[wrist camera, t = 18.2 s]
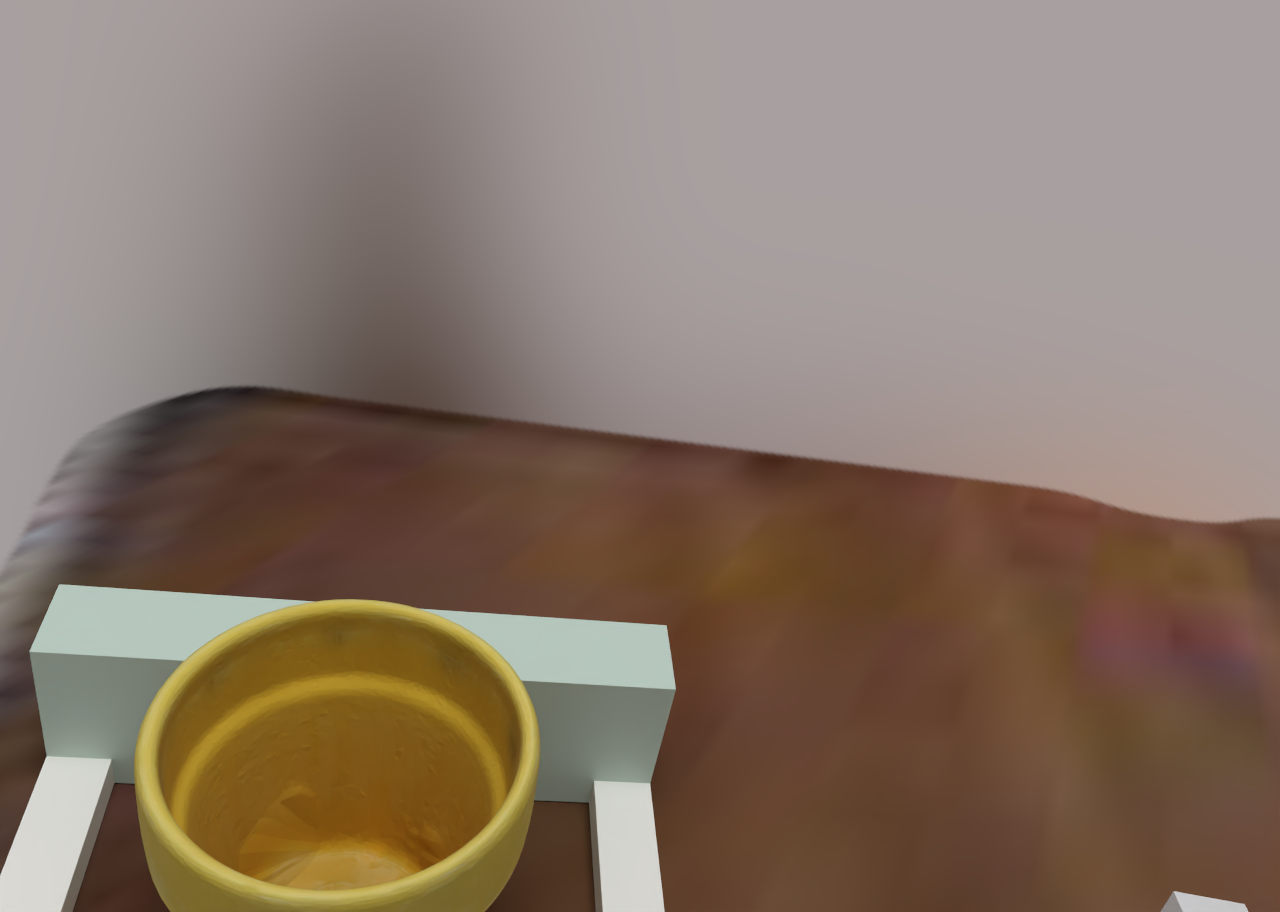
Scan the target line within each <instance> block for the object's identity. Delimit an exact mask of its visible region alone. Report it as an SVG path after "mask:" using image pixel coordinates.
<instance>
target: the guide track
mask: <svg viewBox="0 0 1280 912" xmlns="http://www.w3.org/2000/svg"><path fill="white" fill-rule="evenodd" d="M310 602H312V601H297V600H282V599H267V598H253V597H238V596H223V595H208V594H193V593H179V592H164V591H149V590H134V589H120V588H105V587H90V586H75V585H60V584H59V586H58V588H57V591H56V593H55V595H54V597H53V600H52V602H51V604H50V606H49V609H48V611H47V613H46V616H45V618H44V620H43V622H42V625H41V627H40V629H39V631H38V634H37V636H36V638H35V640H34V643H33V645H32V647H31V650H30V658H31V664H32V670H33V676H34V682H35V688H36V694H37V700H38V706H39V712H40V719H41V725H42V731H43V737H44V743H45V749H46V755H47V757H46V759H45V762H44V764H43V767H42V770H41V772H40V775H39V777H38V780H37V782H36V785H35V788H34V790H33V793H32V795H31V798H30V800H29V803H28V806H27V808H26V811H25V813H24V816H23V818H22V821H21V824H20V826H19V829H18V831H17V834H16V837H15V839H14V842H13V844H12V847H11V849H10V852H9V855H8V857H7V860H6V862H5V865H4V867H3V870H2V873H1V875H0V912H73V909H74V906H75V903H76V900H77V897H78V894H79V890H80V887H81V884H82V881H83V878H84V875H85V872H86V869H87V866H88V863H89V860H90V857H91V853H92V850H93V847H94V844H95V841H96V838H97V835H98V832H99V829H100V826H101V823H102V820H103V817H104V813H105V810H106V807H107V804H108V801H109V798H110V795H111V792H112V789H113V786H114V783H130V784H135V780H134V757H135V748H136V743H137V738H138V734H139V731H140V727H141V724H142V722H143V719H144V717H145V715H146V712H147V710H148V708H149V706H150V704H151V703H152V701H153V699H154V697H155V696H156V694H157V692H158V691H159V689H160V688H161V687H162V686H163V684H164V683H165V682H166V680H167V679H168V678H169V677H170V675H171V674H172V673H173V672H174V671H175V670H176V669H177V668H178V667H179V665H180V664H181V663H182V662H184V661H185V660H186V659H187V658H188V657H189V656H190V655H191V654H193V653H194V652H195V651H196V650H198V649H199V648H200V647H202V646H203V645H204V644H206V643H207V642H209V641H210V640H212V639H213V638H215V637H216V636H218V635H220V634H221V633H223V632H225V631H227V630H229V629H230V628H232V627H234V626H236V625H238V624H241V623H243V622H245V621H247V620H250V619H252V618H254V617H257V616H259V615H262V614H265V613H268V612H272V611H275V610H278V609H282V608H285V607H289V606H293V605H299V604H304V603H310ZM421 610H424V611H427V612H430V613H433V614H436V615H439V616H441V617H443V618H445V619H448V620H450V621H452V622H454V623H456V624H459V625H460V626H462V627H464V628H466V629H467V630H469V631H471V632H472V633H474V634H476V635H477V636H479V637H480V638H482V639H483V640H484V641H486V642H487V643H488V644H489V645H491V646H492V647H493V648H494V649H495V650H497V651H498V652H499V653H500V655H501V656H502V657H503V658H504V659H505V660H506V661H507V662H508V663H509V664H510V665H511V667H512V668H513V669H514V671H515V672H516V673H517V675H518V676H519V678H520V679H521V681H522V682H523V684H524V686H525V688H526V690H527V692H528V694H529V697H530V699H531V701H532V704H533V706H534V709H535V713H536V717H537V720H538V726H539V733H540V763H539V771H538V779H537V785H536V792H535V799H534V800H538V801H562V802H586V803H589V812H590V828H591V844H592V861H593V877H594V893H595V909H596V912H664V903H663V894H662V885H661V876H660V868H659V859H658V850H657V841H656V832H655V823H654V815H653V806H652V797H651V788H650V781H651V778H652V774H653V771H654V767H655V763H656V760H657V756H658V752H659V749H660V745H661V741H662V738H663V734H664V731H665V727H666V723H667V720H668V716H669V712H670V709H671V705H672V702H673V698H674V694H675V691H676V687H675V680H674V674H673V667H672V660H671V653H670V646H669V639H668V632H667V626H666V625H652V624H637V623H622V622H607V621H592V620H578V619H563V618H548V617H533V616H519V615H504V614H489V613H474V612H459V611H445V610H430V609H421Z"/></svg>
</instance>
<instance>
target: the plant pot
mask: <svg viewBox="0 0 1280 912" xmlns="http://www.w3.org/2000/svg"><path fill="white" fill-rule="evenodd" d="M539 763H540V733H539V726H538V720H537V717H536V713H535V709H534V706H533V704H532V701H531V699H530V697H529V694H528V692H527V690H526V688H525V686H524V684H523V682H522V681H521V679H520V678H519V676H518V675H517V673H516V672H515V671H514V669H513V668H512V667H511V665H510V664H509V663H508V662H507V661H506V660H505V659H504V658H503V657H502V656H501V655H500V653H499V652H498V651H497V650H495V649H494V648H493V647H492V646H491V645H489V644H488V643H487V642H486V641H484V640H483V639H482V638H480V637H479V636H477V635H476V634H474V633H472V632H471V631H469V630H467V629H466V628H464V627H462V626H460V625H459V624H456V623H454V622H452V621H450V620H448V619H445V618H443V617H441V616H439V615H436V614H433V613H430V612H427V611H424V610H421V609H417V608H414V607H410V606H406V605H401V604H396V603H391V602H383V601H375V600H356V599H344V600H326V601H318V602H310V603H304V604H299V605H293V606H289V607H285V608H282V609H278V610H275V611H272V612H268V613H265V614H262V615H259V616H257V617H254V618H252V619H250V620H247V621H245V622H243V623H241V624H238V625H236V626H234V627H232V628H230V629H229V630H227V631H225V632H223V633H221V634H220V635H218V636H216V637H215V638H213V639H212V640H210V641H209V642H207V643H206V644H204V645H203V646H202V647H200V648H199V649H198V650H196V651H195V652H194V653H193V654H191V655H190V656H189V657H188V658H187V659H186V660H185V661H184V662H182V663H181V664H180V665H179V667H178V668H177V669H176V670H175V671H174V672H173V673H172V674H171V675H170V677H169V678H168V679H167V680H166V682H165V683H164V684H163V686H162V687H161V688H160V689H159V691H158V692H157V694H156V696H155V697H154V699H153V701H152V703H151V704H150V706H149V708H148V710H147V712H146V715H145V717H144V719H143V722H142V724H141V727H140V731H139V734H138V738H137V743H136V748H135V757H134V780H135V792H136V799H137V809H138V816H139V822H140V829H141V835H142V840H143V845H144V850H145V855H146V859H147V863H148V867H149V870H150V874H151V876H152V879H153V882H154V884H155V886H156V889H157V891H158V893H159V895H160V897H161V899H162V900H163V902H164V903H165V905H166V906H167V908H168V909H169V910H170V912H485V911H486V910H487V909H488V908H489V907H490V906H491V904H492V903H493V902H494V901H495V899H496V898H497V897H498V895H499V894H500V892H501V891H502V890H503V888H504V886H505V885H506V883H507V882H508V880H509V878H510V877H511V875H512V873H513V871H514V868H515V866H516V864H517V862H518V860H519V857H520V854H521V851H522V849H523V846H524V842H525V838H526V834H527V831H528V827H529V823H530V819H531V814H532V809H533V804H534V799H535V792H536V785H537V779H538V771H539Z"/></svg>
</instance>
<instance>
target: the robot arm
mask: <svg viewBox="0 0 1280 912" xmlns="http://www.w3.org/2000/svg"><path fill="white" fill-rule="evenodd" d="M1161 912H1248V910H1247V908H1246V906H1245V904H1241V903H1235V902H1230V901H1224V900H1219V899H1213V898H1208V897H1203V896H1197V895H1192V894H1186V893H1181V892H1175V891H1173V893H1172V894H1171V896H1170V898H1169V899H1168V901H1167V902H1166V904H1165V906H1164V907H1163V909H1162V910H1161Z"/></svg>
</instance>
